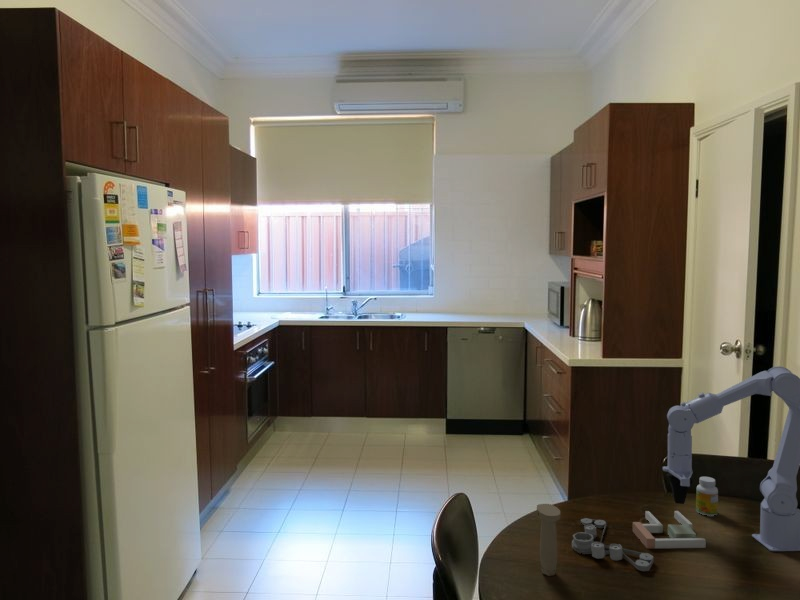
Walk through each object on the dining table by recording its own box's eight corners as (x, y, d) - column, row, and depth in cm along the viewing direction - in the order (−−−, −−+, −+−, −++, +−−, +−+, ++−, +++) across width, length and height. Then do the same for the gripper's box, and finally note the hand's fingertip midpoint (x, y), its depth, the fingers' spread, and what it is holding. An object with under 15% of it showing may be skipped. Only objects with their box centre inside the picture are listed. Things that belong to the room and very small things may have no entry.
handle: (544, 581, 127) (544, 516, 126) (533, 566, 133) (532, 504, 132) (564, 579, 128) (564, 514, 127) (552, 564, 134) (552, 502, 133)
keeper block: (687, 535, 147) (687, 524, 147) (695, 545, 142) (696, 534, 142) (667, 535, 147) (667, 524, 147) (675, 545, 142) (675, 533, 142)
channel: (677, 517, 157) (678, 510, 157) (709, 547, 140) (709, 539, 140) (629, 518, 157) (629, 511, 157) (655, 548, 141) (655, 540, 140)
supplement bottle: (691, 510, 161) (692, 476, 161) (706, 507, 163) (707, 474, 162) (706, 518, 156) (707, 483, 156) (722, 515, 158) (722, 481, 157)
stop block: (640, 531, 150) (640, 522, 149) (655, 548, 141) (655, 538, 140) (632, 531, 150) (632, 522, 149) (646, 548, 141) (647, 538, 140)
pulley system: (605, 584, 127) (663, 571, 130) (603, 564, 127) (662, 551, 130) (548, 532, 154) (598, 523, 157) (547, 515, 154) (596, 506, 157)
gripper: (658, 442, 157) (658, 490, 158) (668, 460, 143) (667, 512, 144) (686, 444, 155) (685, 492, 156) (699, 462, 141) (698, 515, 142)
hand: (679, 502), depth 150 cm, fingers closed
